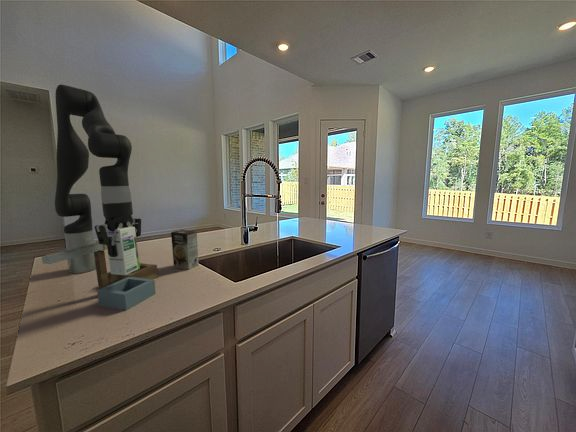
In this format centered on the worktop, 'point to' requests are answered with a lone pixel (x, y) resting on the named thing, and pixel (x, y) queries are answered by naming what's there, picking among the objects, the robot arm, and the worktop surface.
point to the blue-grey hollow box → (126, 293)
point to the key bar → (72, 253)
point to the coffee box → (185, 249)
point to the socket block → (107, 278)
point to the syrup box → (124, 252)
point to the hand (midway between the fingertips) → (123, 253)
